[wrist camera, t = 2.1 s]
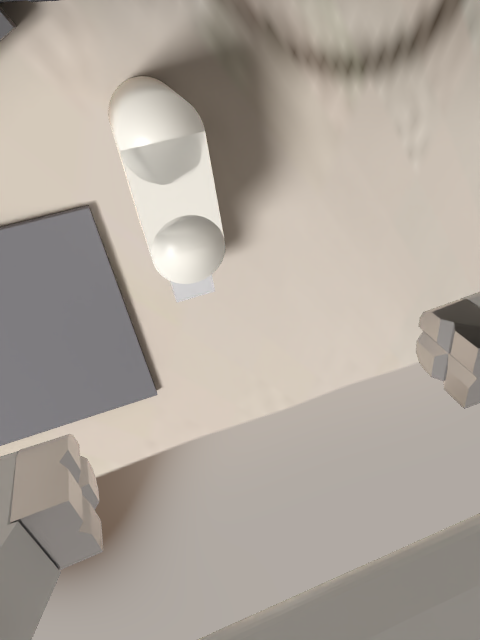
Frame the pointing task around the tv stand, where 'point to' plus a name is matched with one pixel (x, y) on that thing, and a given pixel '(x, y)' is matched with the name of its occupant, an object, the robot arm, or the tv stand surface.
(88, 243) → the mat
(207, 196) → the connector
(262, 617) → the robot arm
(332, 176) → the tv stand surface
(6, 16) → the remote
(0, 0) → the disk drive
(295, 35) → the tv stand surface
